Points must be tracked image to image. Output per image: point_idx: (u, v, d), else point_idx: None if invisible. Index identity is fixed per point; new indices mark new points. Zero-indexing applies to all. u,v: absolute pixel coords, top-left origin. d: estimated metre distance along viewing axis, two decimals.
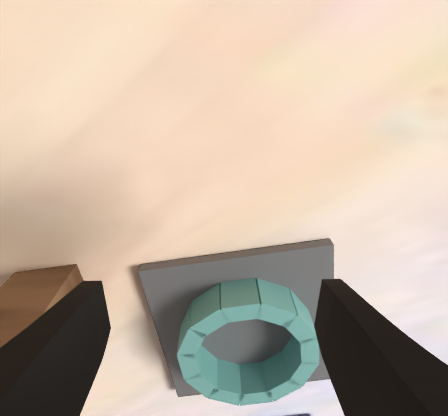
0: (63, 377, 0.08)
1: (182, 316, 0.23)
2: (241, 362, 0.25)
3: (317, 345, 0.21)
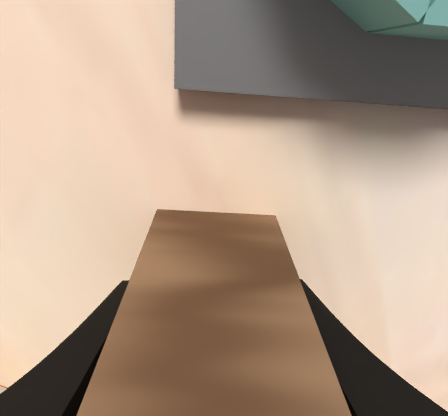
0: None
1: (338, 14, 0.09)
2: None
3: None
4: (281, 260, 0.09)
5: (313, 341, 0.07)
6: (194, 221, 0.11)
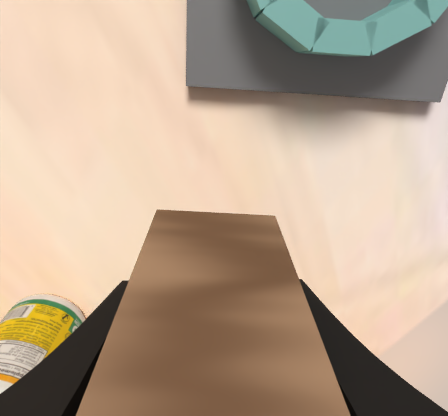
0: None
1: (279, 42, 0.15)
2: None
3: None
4: (281, 260, 0.09)
5: (312, 341, 0.07)
6: (194, 221, 0.11)
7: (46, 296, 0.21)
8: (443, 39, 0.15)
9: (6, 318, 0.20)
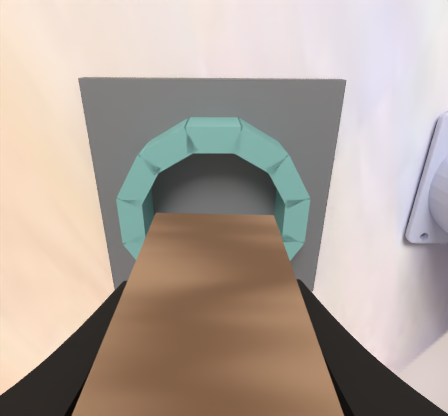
0: None
1: None
2: (270, 213, 0.19)
3: (201, 128, 0.14)
4: (278, 260, 0.09)
5: (307, 341, 0.07)
6: (193, 223, 0.11)
7: None
8: (305, 255, 0.20)
9: None
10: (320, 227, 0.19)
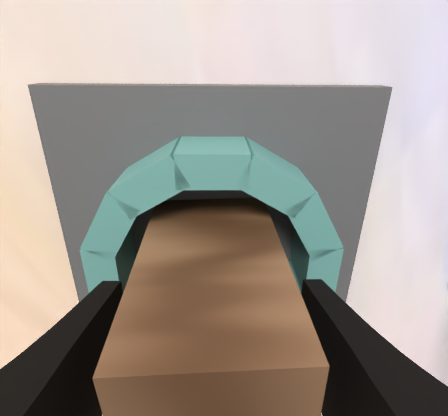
0: (88, 377, 0.08)
1: None
2: None
3: (194, 156, 0.10)
4: (267, 233, 0.11)
5: (291, 292, 0.08)
6: (190, 208, 0.12)
7: None
8: None
9: None
10: (348, 273, 0.15)
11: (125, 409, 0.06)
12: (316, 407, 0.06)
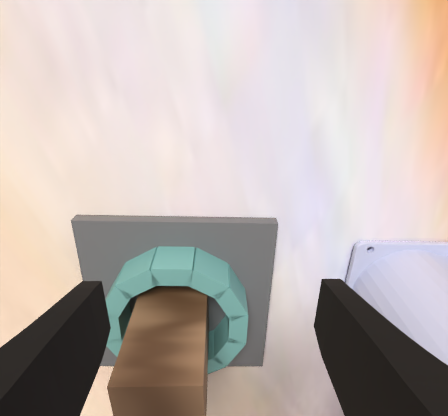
0: (63, 377, 0.08)
1: None
2: (224, 310, 0.23)
3: (162, 270, 0.19)
4: (201, 308, 0.19)
5: (200, 348, 0.17)
6: (163, 286, 0.21)
7: None
8: (254, 340, 0.24)
9: None
10: (265, 321, 0.24)
11: (120, 400, 0.15)
12: (201, 403, 0.15)
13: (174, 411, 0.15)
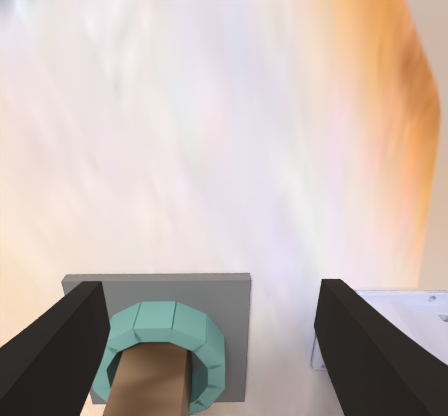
0: (63, 377, 0.08)
1: None
2: None
3: (144, 329, 0.20)
4: (180, 361, 0.21)
5: (177, 405, 0.18)
6: None
7: None
8: (235, 379, 0.26)
9: None
10: (244, 362, 0.26)
11: None
12: None
13: None
